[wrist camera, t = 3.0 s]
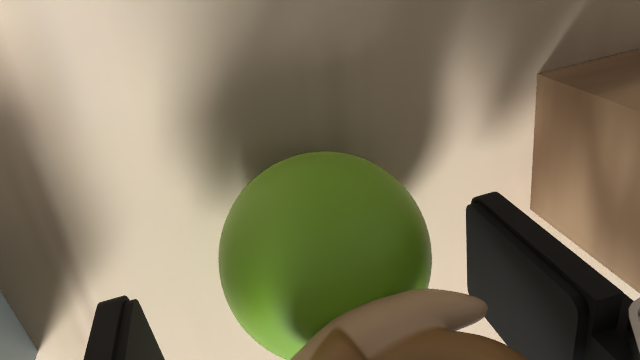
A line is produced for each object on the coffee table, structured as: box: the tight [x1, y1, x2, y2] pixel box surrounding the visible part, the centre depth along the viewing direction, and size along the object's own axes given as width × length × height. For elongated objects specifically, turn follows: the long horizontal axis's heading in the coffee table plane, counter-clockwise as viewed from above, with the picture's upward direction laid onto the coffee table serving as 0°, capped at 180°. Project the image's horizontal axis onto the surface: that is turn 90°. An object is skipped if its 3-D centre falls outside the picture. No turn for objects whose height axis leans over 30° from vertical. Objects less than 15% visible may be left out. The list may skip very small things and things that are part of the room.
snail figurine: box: [219, 151, 528, 360], centre depth 10 cm, size 5×6×12 cm
